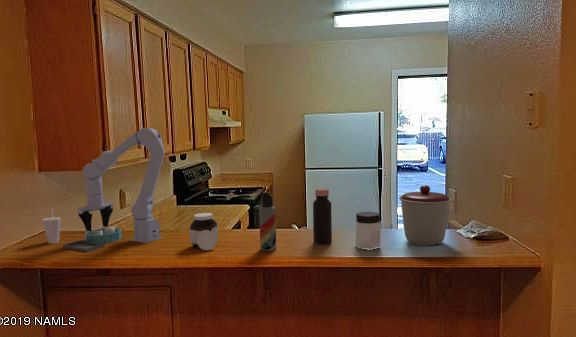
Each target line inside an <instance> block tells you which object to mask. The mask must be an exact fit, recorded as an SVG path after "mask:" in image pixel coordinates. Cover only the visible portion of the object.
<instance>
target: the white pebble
mask: <svg viewBox="0 0 576 337" xmlns="http://www.w3.org/2000/svg"><path fill="white" fill-rule="evenodd" d="M93 230H94V229H93ZM92 235H103V230H94V231H92Z"/></svg>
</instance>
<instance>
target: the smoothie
mask: <svg viewBox="0 0 576 337" xmlns="http://www.w3.org/2000/svg"><path fill="white" fill-rule="evenodd" d="M50 211H51V217H46V218H43V219H42V223H43V228H44V231H45V236H46V241H47V244H57V243H59V242H60V228H61V221H62V218H61V217H60V216H59V217H58V216H54V207H51V209H50Z"/></svg>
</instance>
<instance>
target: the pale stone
mask: <svg viewBox="0 0 576 337" xmlns="http://www.w3.org/2000/svg"><path fill="white" fill-rule="evenodd" d="M103 228H104V235H105V234H111V233H115V228H116V227H115V226H108V227H103Z"/></svg>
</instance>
